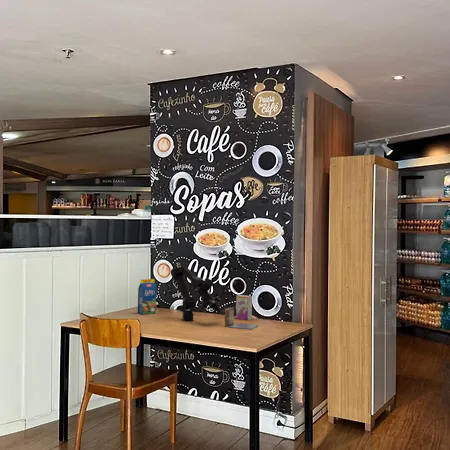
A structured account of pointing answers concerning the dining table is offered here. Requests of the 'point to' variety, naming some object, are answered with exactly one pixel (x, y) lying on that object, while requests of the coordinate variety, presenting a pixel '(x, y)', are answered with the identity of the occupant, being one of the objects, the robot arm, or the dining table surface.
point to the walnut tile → (229, 317)
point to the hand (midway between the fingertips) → (220, 312)
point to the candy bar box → (243, 307)
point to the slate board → (243, 326)
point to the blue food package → (147, 297)
